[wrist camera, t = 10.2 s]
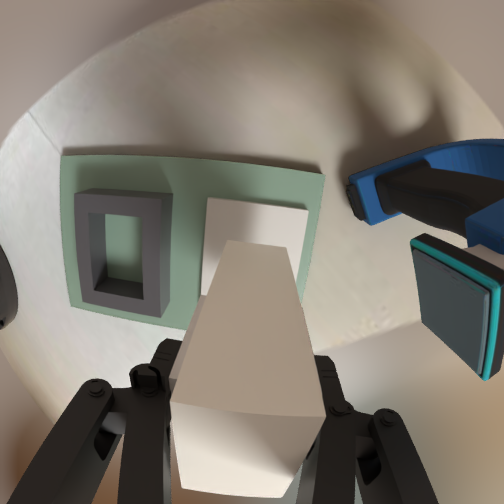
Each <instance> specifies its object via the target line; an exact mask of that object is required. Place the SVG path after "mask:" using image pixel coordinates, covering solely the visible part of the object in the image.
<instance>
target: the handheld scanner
mask: <svg viewBox="0 0 504 504" xmlns="http://www.w3.org/2000/svg"><path fill="white" fill-rule="evenodd" d="M349 180H350V183H351V184H349V185H347V191H346V192H347V195H348V198H349V201H350V204H351V207H352V210H353V213H354V216H356V217H357V218H358V219H359V220H360V221H362V220H364V221H365V222H366V223H367V224H369V225H371V226H372V225H375V224H377V223H380V222H382V221H385V220H387V219H389V218H392V217H394V216H397V215H399V214H402V213H403V214H405V215H408V216H410V217H412V218H414V219H416V220H418V221H421V222H423V223H425V224H427V225H430V226H433V227H435V228H439V229H443V230H448V231H451V232H454V233H456V234H458V235H461V236H463V237H464V238H466V239H467V245H468V248H464V249H460V248H458V247H456V246H454V245H452V244H449V243H447V242H445V241H443V240H440V239H438V238H436V237H433V236H431V235H429V234H426V233H423V234H421V235H419V236H417V237H415V238H413V239H411V241H410V247H411V252H412V257H413V263H414V268H415V274H416V281H417V287H418V295H419V302H420V311H421V320H422V323H423V324H424V325H425V326H427V327H428V328H429V329H430V330H431V331H432V332H433V333H434V334H435V335H436V336H438V337H439V338H440V339H441V340H442V341H443V342H444V343H445V344H446V345H447V346H448V347H449V348H450V349H452V350H453V351H454V352H455V353H456V354H457V355H458V356H459V357H460V358H461V359H462V360H463V361H464V362H465V363H466V364H467V365H468V366H469V367H471V369H472V370H473V371H475V373H476V374H477V375H478V376H479V377H480V378H481V379H482V380H484V381H486V380H488V379H490V378H491V377H492V376H493V375H495V374H496V373H497V372H499V370H500V368H501V364H502V359H503V355H504V139H473V140H464V141H458V142H452V143H447V144H442V145H438V146H434V147H430V148H426V149H423V150H420V151H417V152H414V153H411V154H409V155H406V156H403V157H400V158H397V159H394V160H392V161H389V162H386V163H383V164H380V165H378V166H375V167H372V168H369V169H367V170H364V171H361V172H359V173H356V174H353V175H351V176H349Z"/></svg>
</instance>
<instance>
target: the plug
mask: <svg viewBox="0 0 504 504" xmlns="http://www.w3.org/2000/svg"><path fill="white" fill-rule="evenodd" d="M170 408H171V417H172V425H173V433H174V441H175V448H176V455H177V461H178V468H179V473H180V479H181V485H182V488H185V489H192V490H197V491H203V492H211V493H218V494H226V495H236V496H249V497H273V498H275V497H276V498H282V496H283V495H284V493H285V491H286V490H287V488H288V486H289V485H290V483H291V481H292V480H293V478H294V476H295V475H296V473H297V471H298V469H299V468H300V466H301V464H302V463H303V461H304V459H305V457H306V455H307V453H308V452H309V450H310V448H311V446H312V444H313V442H314V440H315V438H316V436H317V434H318V432H319V430H320V428H321V426H322V424H323V422H324V420H325V418H326V413H325V408H324V403H323V399H322V394H321V389H320V385H319V380H318V375H317V371H316V366H315V362H314V358H313V353H312V349H311V345H310V340H309V336H308V332H307V328H306V323H305V319H304V315H303V311H302V307H301V303H300V299H299V295H298V291H297V287H296V283H295V279H294V275H293V271H292V267H291V263H290V259H289V255H288V252H287V248H286V247H280V246H272V245H264V244H256V243H248V242H240V241H232V240H227V242H226V245H225V247H224V250H223V253H222V255H221V258H220V261H219V263H218V266H217V269H216V271H215V274H214V277H213V279H212V282H211V285H210V288H209V290H208V293H207V296H206V299H205V301H204V304H203V307H202V310H201V312H200V315H199V318H198V321H197V324H196V327H195V329H194V332H193V335H192V338H191V341H190V344H189V346H188V349H187V352H186V355H185V358H184V361H183V364H182V367H181V370H180V373H179V375H178V378H177V381H176V384H175V387H174V390H173V393H172V396H171V399H170Z"/></svg>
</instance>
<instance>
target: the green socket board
mask: <svg viewBox="0 0 504 504" xmlns="http://www.w3.org/2000/svg"><path fill="white" fill-rule="evenodd" d="M324 180H325V175H324V174H319V173H313V172H307V171H301V170H294V169H288V168H281V167H273V166H266V165H258V164H250V163H241V162H231V161H221V160H210V159H198V158H184V157H167V156H145V155H66V156H61V164H60V213H61V231H62V244H63V255H64V264H65V272H66V279H67V286H68V293H69V299H70V304H71V306H72V307H75V308H79V309H83V310H87V311H92V312H96V313H100V314H105V315H109V316H113V317H118V318H123V319H128V320H132V321H137V322H142V323H148V324H153V325H158V326H164V327H170V328H176V329H182V330H187V329H188V326H189V323H190V321H191V318H192V316H193V313H194V311H195V308H196V306H197V303H198V301H199V298H200V296H201V295H206V296H207V293H208V290H209V288H210V285H211V282H212V279H213V277H214V274H215V271H216V269H217V266H218V263H219V261H220V258H221V255H222V253H223V250H224V247H225V245H226V242H227V240H232V241H240V242H248V243H256V244H264V245H272V246H280V247H286V248H287V252H288V255H289V259H290V263H291V267H292V271H293V275H294V279H295V283H296V287H297V291H298V295H299V299H300V303H302V298H303V294H304V289H305V284H306V279H307V275H308V270H309V265H310V260H311V255H312V249H313V244H314V239H315V234H316V228H317V222H318V217H319V211H320V205H321V199H322V193H323V187H324Z"/></svg>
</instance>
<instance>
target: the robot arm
mask: <svg viewBox="0 0 504 504" xmlns="http://www.w3.org/2000/svg"><path fill="white" fill-rule="evenodd" d="M205 299H206V295H201V296H200V298H199V301H198V303H197V306H196V308H195V311H194V313H193V316H192V318H191V321H190V323H189V326H188V329H187V331H186V334H185V336H184V339H183V341H179V340H173V339H168V338H166V339H165V340H164V341H162V342H161V343H160V344H159V346H158V348H157V350H156V352H155V354H154V356H153V358H152V360H151V362H150V364H149V363H147V364H140V365H137V366H135V367H134V368H132V369H131V371H130V373H129V376H130V381H131V386H132V387H130V388H112V386H111V385H110V384H109V383H108V382H107V381H105V380H103V379H98V378H97V379H91V380H88V381H86V382H85V383H84V384H83V385H82V386H81V387H80V389H79V390H78V392H77V393H76V395H75V396H74V397H73V399H72V400H71V402H70V403H69V405H68V406H67V408H66V409H65V410H64V412H63V413H62V415H61V416H60V418H59V419H58V421H57V422H56V424H55V425H54V427H53V428H52V430H51V431H50V433H49V434H48V436H47V438H46V439H45V441H44V442H43V444H42V445H41V447H40V448H39V450H38V452H37V453H36V455H35V456H34V458H33V460H32V461H31V463H30V465H29V466H28V468H27V470H26V471H25V473H24V475H23V476H22V478H21V480H20V481H19V483H18V485H17V487H16V488H15V490H14V492H13V493H12V495H11V497H10V499H9V501H8V502H7V504H91V503H92V501H93V498H94V496H95V494H96V492H97V489H98V487H99V485H100V483H101V480H102V478H103V476H104V474H105V471H106V469H107V467H108V465H109V463H110V460H111V458H112V456H113V454H114V452H115V450H116V448H117V445H118V443H119V441H120V439H121V437H122V434H125V435H124V442H123V450H122V458H121V468H120V478H119V488H118V502H117V504H172V503H171V475H170V473H171V472H170V421H171V418H172V417H171V408H170V399H171V396H172V393H173V390H174V387H175V384H176V381H177V378H178V375H179V373H180V370H181V367H182V364H183V361H184V358H185V355H186V352H187V349H188V346H189V344H190V341H191V338H192V335H193V332H194V329H195V327H196V324H197V321H198V318H199V315H200V312H201V310H202V307H203V304H204V301H205ZM17 309H18V297H17V290H16V285H15V281H14V278H13V274H12V271H11V269H10V266H9V264H8V261H7V259H6V257H5V255H4V253H3V251H2V249H1V247H0V330H1V329H3V328H5V327H6V326H7V325H8V324H9V323H11V322H12V321H13V320H14V318H15V316H16V314H17ZM302 311H303V308H302ZM303 315H304V312H303ZM304 319H305V316H304ZM305 323H306V321H305ZM306 328H307V325H306ZM307 332H308V329H307ZM308 336H309V333H308ZM309 340H310V337H309ZM310 345H311V341H310ZM311 349H312V346H311ZM312 353H313V350H312ZM313 358H314V362H315V366H316V371H317V375H318V380H319V385H320V389H321V394H322V399H323V403H324V408H325V413H326V418H325V420H324V422H323V424H322V426H321V428H320V430H319V432H318V434H317V436H316V438H315V440H314V442H313V444H312V446H311V448H310V450H309V452H308V453H307V455H306V457H305V459H304V461H303V466H302V473H301V478H300V484H299V489H298V495H297V500H296V504H354V500H355V498H354V497H355V475H356V478H357V482H358V486H359V490H360V494H361V497H362V501H363V504H439V503H438V501H437V498H436V496H435V493H434V491H433V488H432V486H431V483H430V481H429V479H428V476H427V474H426V471H425V469H424V467H423V464H422V462H421V460H420V457H419V455H418V453H417V451H416V448H415V446H414V444H413V442H412V440H411V437H410V435H409V433H408V431H407V429H406V427H405V425H404V422H403V420H402V418H401V417H400V415H399V414H398V413H397V412H395V411H394V410H391V409H385V408H384V409H380V410H378V411H376V412H375V413H374V415H370V414H366V413H361V412H358V411H355V410H354V408H353V406H352V405H351V404H350V403H349V402H347V401H346V400H345V398H344V395H343V392H342V388H341V384H340V381H339V378H338V374H337V372H336V368H335V364H334V362H333V361H332V360H331V359H330V358H329V357H328V356H319V355H314V354H313Z"/></svg>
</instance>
